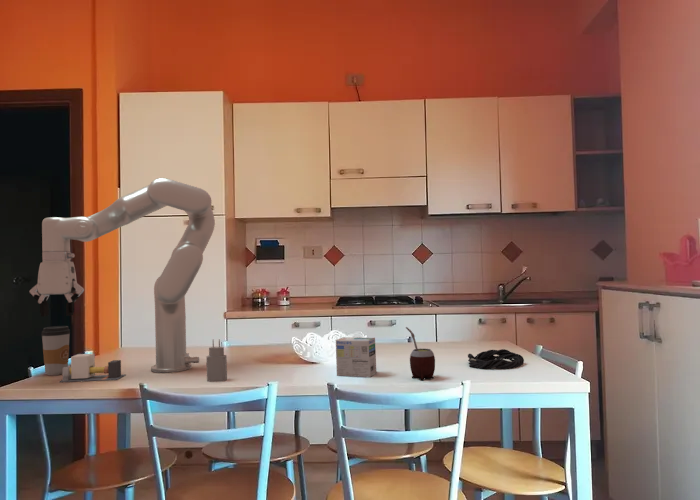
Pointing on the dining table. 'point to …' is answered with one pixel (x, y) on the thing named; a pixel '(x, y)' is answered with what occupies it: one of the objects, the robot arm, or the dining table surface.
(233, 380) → the dining table surface
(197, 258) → the robot arm
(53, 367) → the coffee cup
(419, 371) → the mate gourd
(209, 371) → the power adapter
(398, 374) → the dining table surface
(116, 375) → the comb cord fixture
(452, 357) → the dining table surface
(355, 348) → the light bulb box
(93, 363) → the marker sleeve
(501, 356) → the cable
